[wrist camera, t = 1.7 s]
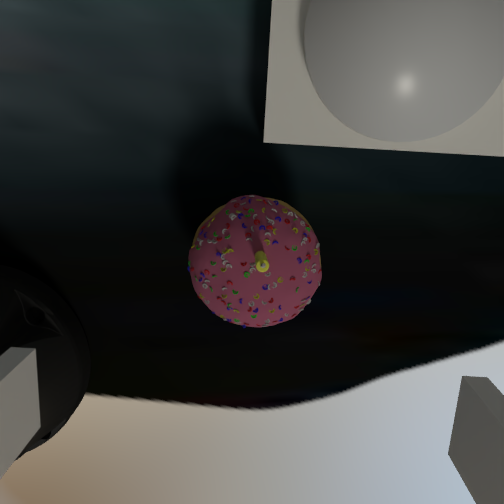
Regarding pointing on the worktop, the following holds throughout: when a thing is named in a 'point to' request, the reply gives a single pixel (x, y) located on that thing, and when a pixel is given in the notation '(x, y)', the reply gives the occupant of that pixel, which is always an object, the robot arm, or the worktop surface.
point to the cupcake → (255, 261)
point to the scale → (387, 75)
